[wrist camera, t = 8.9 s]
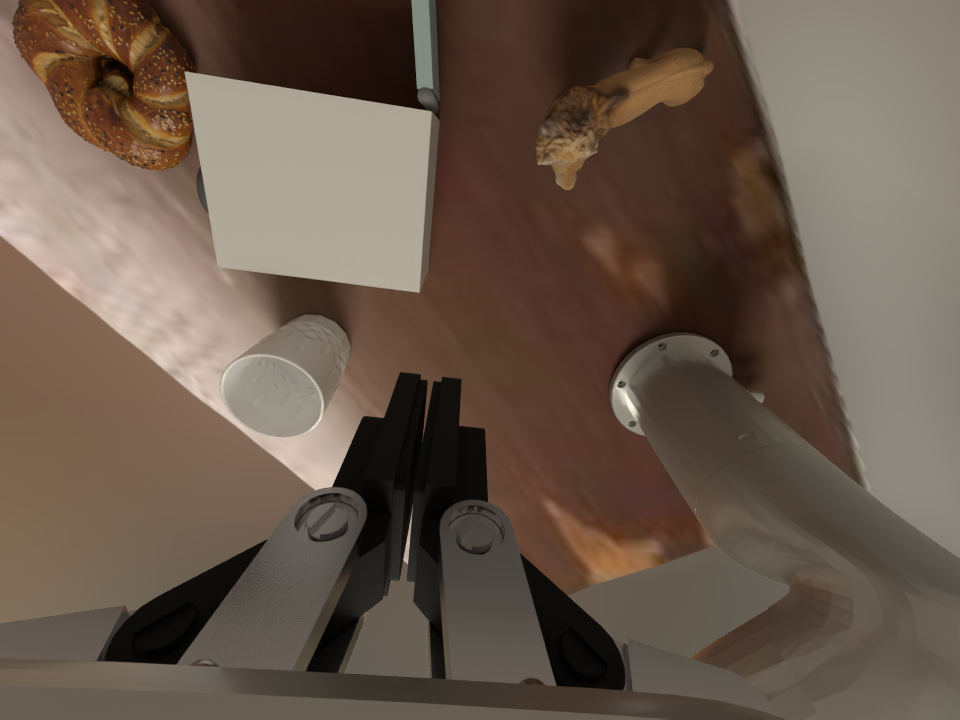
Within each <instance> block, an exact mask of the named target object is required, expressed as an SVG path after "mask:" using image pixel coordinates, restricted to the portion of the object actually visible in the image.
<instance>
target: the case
mask: <svg viewBox="0 0 960 720" xmlns="http://www.w3.org/2000/svg"><path fill="white" fill-rule="evenodd" d="M185 77H186V83H187V88H188V94H189V100H190V106H191V112H192V118H193V124H194V129H195V135H196V141H197V147H198V153H199V159H200V164H201V166H200V168H199V171H198V175H197V191H198V196H199V199H200V202H201V204H202V206H203V208H204V209H205V211H206V212H207V213H208V214H209V217H210V223H211V229H212V235H213V241H214V246H215V252H216V258H217V264H218V267H221V268H229V269H237V270H245V271H253V272H261V273H269V274H277V275H285V276H293V277H301V278H309V279H317V280H325V281H333V282H341V283H349V284H356V285H364V286H372V287H380V288H388V289H396V290H404V291H412V292H420V290H421V287H422V285H423V282H424V280H425V277H426V275H427V272H428V266H429V253H430V240H431V227H432V214H433V200H434V187H435V174H436V161H437V148H438V135H439V122H440V121H439V119H438V118H437V117H436V116H435V115H434V114H433V112H432V111H426V110H420V109H413V108H407V107H401V106H395V105H389V104H383V103H376V102H370V101H364V100H358V99H352V98H345V97H339V96H333V95H327V94H321V93H315V92H308V91H302V90H296V89H290V88H284V87H278V86H271V85H265V84H259V83H253V82H247V81H241V80H234V79H228V78H222V77H216V76H210V75H203V74H197V73H191V72H185Z"/></svg>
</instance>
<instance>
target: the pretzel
mask: <svg viewBox="0 0 960 720" xmlns="http://www.w3.org/2000/svg"><path fill="white" fill-rule="evenodd" d="M18 3H19V7H18V9H17V10H16V13H15V15H14V17H13V22H12V24H13V26H14V31H13V35H14V39H15V44H16V46H17V48H18V49H19V51H20V53H21V57H22V58H24V59H25V61H26V62H27V64H28V65H29V66H30V68H31V69H32V70H33V71H34V73H35V74H36V75H37V76H38V77H39V78H40V79H41V81H42V82H43V83H44V84H45V85H46V87H47V89H48V92H49V93H50V95H51V98H52V100H53V102H54V105H55V106H56V108H57V110H58V112H59V113H60V115H61V117H62V119H63V121H64V122H65V123H66V124H67V125H68V126H69V127H70V128H71V129H72V130H73V131H74V132H75V133H77V135H78V136H81V137H82V138H84V140H85V141H88V142H89V143H91V144H92V145H95V146H96V147H98V148H101V149H103V150H104V151H109V152H111V153H113V154H114V155H116V157H119V158H120V159H122V160H125V161H127V162H128V163H130V164H131V165H132V166H133V165H134V166H139V167H141V168H146V169H148V170H156V171H157V170H164V169H169V168H173V167H174V166H175V165H178V164H179V163H180V162H181V161H182V160H183V159H184V158H185V157H186V156H187V154H188V152H189V150H190V148H191V140H192V134H191V133H192V132H193V130H194V124H193V118H192V112H191V106H190V100H189V94H188V88H187V83H186V77H185V72H191V73H195V68H194V65H193V62H192V60H191V58H190V56H189V54H188V53H187V51H186V50H185V49H184V46H183V45H182V44H181V43H180V42H179V41H178V40H177V39H176V37H175V36H174V35H173V34H172V33H171V32H170V30H169V29H167V28H165V27H163V26H162V25H161V23H160V18H159V16H158V14H157V13H156V11H155V10H154V9H153V7H152V5H151V4H150V3H148V1H147V0H25V1H24V0H19V2H18ZM115 59H116V60H118V61H119V62H121V63H123V64H124V65H127V66H128V68H129V69H130V70H131V72H132V73H133V74H134V78H131V77H130V76H128V75H127V74H125V73H124V72H123V71H122V70H120V69H119V68H118V67H114V66H113V65H112V63H113V62H115Z"/></svg>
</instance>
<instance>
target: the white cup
mask: <svg viewBox="0 0 960 720" xmlns="http://www.w3.org/2000/svg"><path fill="white" fill-rule="evenodd" d="M350 350H351V346H350V343H349V340H348V337H347V334H346V333H345V332H344V331H343V330H342V329H341V327H340V326H339V325H338V324H337V323H336V322H334V321H332V320H330V319H328V318H326V317H323V316H321V315H308V314H304V315H302V316H300V317H297V318H295V319H293V320H291V321H289V322H288V323H287V324H285V325H284V326H282V327H280V328H279V329H277V330H275V331H274V332H273V333H271V334H270V335H268V336H267V337H265V338H264V339H262V340H261V341H260V342H258V343H257V344H256V345H254V346H253V347H252V348H250V349H249V350H248V351H246V352H245V353H244V354H242V355H241V356H239V357H238V358H237V359H235V360H234V361H233V362H231V363H230V364H229V365H228V366H227V367H226V369H225V370H224V372H223V374H222V376H221V380H220V393H221V397H222V400H223V402H224V404H225V406H226V408H227V409H228V411H229V412H230V413H231V415H232V416H233V417H234V418H235V419H236V420H237V421H238V422H240V423H241V424H242V425H244V426H245V427H247V428H248V429H250V430H252V431H254V432H256V433H259V434H261V435H264V436H268V437H273V438H294V437H298V436H301V435H304V434H306V433H308V432H309V431H311V430H312V429H313V428H315V427H316V426H317V424H318V423H319V422H320V420H321V418H322V416H323V414H324V412H325V410H326V408H327V406H328V404H329V402H330V400H331V398H332V396H333V394H334V392H335V390H336V388H337V386H338V384H339V381H340V379H341V377H342V375H343V372H344V369H345V367H346V365H347V363H348V361H349V357H350Z"/></svg>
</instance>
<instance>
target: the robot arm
mask: <svg viewBox="0 0 960 720" xmlns="http://www.w3.org/2000/svg"><path fill="white" fill-rule="evenodd" d="M732 376H733V373H732V365H731V362H730V360H729V357H728V356H727V354H726V353H725V352H724V350H723V349H722V348H721V347H720V346H718V345H717V344H716V343H715V342H713V341H712V340H710V339H708V338H707V337H705V336H702V335H699V334H696V333H688V332H676V333H669V334H664V335H660V336H658V337H655V338H652V339H650V340H648V341H646V342H644V343H643V344H641V345H639V346H638V347H636V348H635V349H634V350H633V351H631V352H630V353H629V354H628V355H627V356H626V357H625V358H624V359H623V360H622V362H621V363H620V364H619V366H618V367H617V369H616V371H615V372H614V375H613V377H612V380H611V383H610V388H609V401H610V404H611V407H612V410H613V412H614V413H615V415H616V417H617V419H618V420H619V421H620V422H621V424H622V425H624V426H625V427H626V428H627V429H629V430H631V431H633V432H635V433H637V434H640V435H644V436H646V438H647V439H648V441H649V442H650V444H651V446H652V447H653V449H654V450H655V452H656V454H657V455H658V457H659V458H660V460H661V462H662V463H663V465H664V466H665V468H666V470H667V471H668V473H669V474H670V476H671V478H672V479H673V481H674V482H675V484H676V486H677V487H678V489H679V490H680V492H681V494H682V495H683V497H684V498H685V500H686V502H687V503H688V505H689V506H690V508H691V510H692V511H693V513H694V514H695V516H696V518H697V519H698V521H699V522H700V524H701V526H702V527H703V529H704V530H705V532H706V533H707V535H708V536H709V538H710V539H711V541H712V542H713V543H714V544H715V545H716V546H717V548H718V549H719V550H720V551H721V552H722V553H723V554H725V555H726V556H727V557H729V558H730V559H731V560H732V561H734V562H735V563H737V564H739V565H741V566H742V567H744V568H746V569H748V570H750V571H752V572H754V573H756V574H758V575H761V576H763V577H766V578H768V579H771V580H774V581H776V582H779V583H782V584H785V585H788V586H790V589H789V592H788V593H787V594H786V595H785V597H783V598H782V599H781V600H779V601H778V602H776V603H775V604H773V605H772V606H770V607H769V608H768V609H767V610H766V611H765V612H763V613H761V614H759V615H758V616H756V617H755V618H753V619H751V620H750V621H748V622H746V623H744V624H743V625H741V626H739V627H738V628H736V629H734V630H733V631H731V632H729V633H728V634H726V635H724V636H723V637H721V638H719V639H717V640H716V641H714V642H713V643H711V644H710V645H708V646H707V647H705V648H703V649H702V650H701V651H699V652H698V653H697V654H695V655H694V656H692V657H691V658H688V657H684V656H681V655H678V654H675V653H672V652H669V651H666V650H662V649H659V648H656V647H653V646H650V645H646V644H644V643H641V642H637V641H634V640H631V639H628V638H627V640H626V641H625V643H621V642H618V641H615V640H613V639H612V638H611V636H610V635H609V634H608V633H607V632H606V631H605V630H604V629H603V628H602V626H601V625H599V624H598V623H597V622H596V621H595V620H594V619H593V618H592V617H590V616H589V615H588V614H587V613H586V612H585V611H584V610H583V609H582V608H580V607H579V606H578V605H577V604H576V603H575V602H574V601H573V600H572V599H570V598H569V597H568V596H567V595H566V594H565V593H564V592H563V591H562V590H560V589H559V588H558V587H557V586H556V585H555V584H554V583H553V582H552V581H550V580H549V579H548V578H547V577H546V576H545V575H544V574H543V573H542V572H540V571H539V570H538V569H537V568H536V567H535V566H534V565H533V564H532V563H530V562H529V561H528V560H527V559H526V558H525V557H524V556H523V555H522V554H520V553H519V549H518V545H517V542H516V538H515V535H514V531H513V527H512V525H511V523H510V521H509V519H508V517H507V516H506V515H505V514H504V512H503V511H502V510H501V509H499V508H498V507H496V506H494V505H493V504H491V503H488V491H487V466H486V441H485V429H484V428H475V427H465V426H459V415H460V398H461V379H456V378H447V377H442V381H441V382H437V381H434V382H433V388H432V393H431V399H430V404H429V410H428V415H427V420H426V426H425V431H424V437H423V428H424V417H425V406H426V395H427V384H428V380H421V375H420V374H412V373H403V372H400V374H399V377H398V380H397V383H396V386H395V389H394V391H393V394H392V397H391V400H390V403H389V406H388V409H387V411H386V414H385V417H384V418H379V417H369V416H364V417H363V418H362V420H361V422H360V424H359V427H358V429H357V431H356V433H355V436H354V438H353V440H352V443H351V445H350V447H349V450H348V452H347V454H346V456H345V459H344V461H343V463H342V466H341V468H340V470H339V473H338V475H337V477H336V479H335V482H334V484H333V486H332V487H330V488H323V489H319V490H316V491H314V492H311V493H309V494H307V495H306V496H304V497H302V498H301V499H299V500H298V501H297V502H296V503H295V505H293V507H292V508H291V509H290V510H289V512H288V513H287V514H286V516H285V517H284V518H283V520H282V521H281V522H280V524H279V525H278V527H277V528H276V529H275V531H274V532H273V533H272V535H271V536H270V537H269V539H267V540H265V541H263V542H262V543H259V544H257V545H256V546H254V547H252V548H250V549H248V550H246V551H244V552H242V553H240V554H238V555H236V556H234V557H233V558H231V559H229V560H227V561H225V562H223V563H221V564H219V565H217V566H215V567H213V568H211V569H209V570H208V571H206V572H204V573H202V574H200V575H198V576H196V577H194V578H192V579H190V580H188V581H187V582H184V583H183V584H181V585H179V586H177V587H175V588H173V589H171V590H169V591H167V592H165V593H163V594H162V595H160V596H158V597H156V598H154V599H153V600H151V601H150V602H148V603H147V604H145V605H143V606H142V607H140V608H139V609H138V610H134V611H127V609H126V606H118V607H111V608H104V609H97V610H90V611H83V612H77V613H70V614H63V615H56V616H49V617H43V618H36V619H29V620H22V621H15V622H9V623H1V624H0V720H960V558H958V557H957V556H956V555H954V554H952V553H951V552H950V551H948V550H946V549H945V548H943V547H942V546H940V545H939V544H938V543H936V542H935V541H933V540H932V539H930V538H929V537H928V536H926V535H925V534H923V533H922V532H921V531H919V530H918V529H916V528H915V527H913V526H912V525H911V524H909V523H908V522H907V521H905V520H904V519H902V518H901V517H899V516H898V515H897V514H895V513H894V512H893V511H891V510H890V509H889V508H888V507H886V506H885V505H883V504H882V503H881V502H880V501H879V500H877V499H876V498H875V497H874V496H872V495H871V494H870V493H868V492H867V491H866V490H865V489H863V488H862V487H861V486H860V485H858V484H857V483H856V482H855V481H853V480H852V479H851V478H850V477H848V476H847V475H846V474H845V473H843V472H842V471H841V470H840V469H839V468H837V467H836V466H835V465H834V464H833V463H832V462H830V461H829V460H828V459H827V458H826V457H824V456H823V455H822V454H821V453H819V452H818V451H817V450H816V449H815V448H814V447H812V446H811V445H810V444H809V443H808V442H806V441H805V440H804V439H803V438H802V437H801V436H799V435H798V434H797V433H796V432H795V431H793V430H792V429H791V428H790V427H789V426H788V425H786V424H785V423H784V422H783V421H782V420H780V419H779V418H778V417H777V416H776V415H775V414H773V413H772V412H771V411H770V410H769V409H767V408H766V407H765V406H764V405H763V404H762V402H763V400H764V394H763V392H762V391H759V390H750V389H747V390H746V389H745V388H744V387H743V386H741V385H740V384H739V383H738V382H737V381H735V380H734V379H733V378H732ZM422 440H423V442H422ZM412 507H413V513H412ZM411 513H412V525H411V537H410V549H409V560H408V572H407V581H410V582H415V589H414V600H413V602H414V603H415V604H416V605H417V607H418V608H419V609H420V610H421V612H422V613H423V614H424V615H425V617H426V618H427V619H428V620H427V647H428V673H429V678H414V677H396V676H377V675H360V674H345V671H346V668H347V666H348V663H349V660H350V658H351V655H352V653H353V650H354V648H355V645H356V642H357V640H358V637H359V635H360V632H361V629H362V627H363V624H364V621H365V616H366V612H367V611H368V610H369V609H371V608H372V607H373V606H374V605H376V604H377V603H378V602H380V601H381V600H382V599H383V596H387V595H388V590H389V584H390V580H397V581H399V579H400V575H401V568H402V564H403V558H404V552H405V547H406V541H407V535H408V530H409V524H410V519H411Z"/></svg>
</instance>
